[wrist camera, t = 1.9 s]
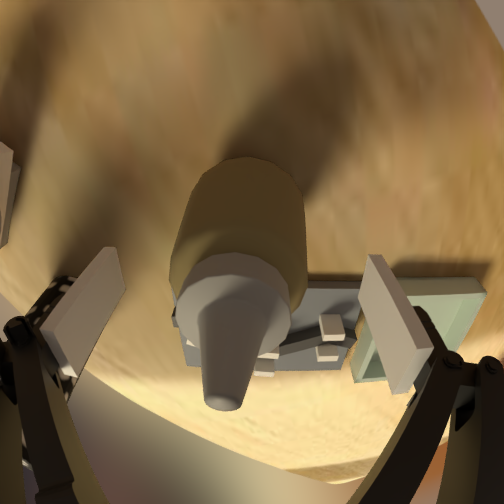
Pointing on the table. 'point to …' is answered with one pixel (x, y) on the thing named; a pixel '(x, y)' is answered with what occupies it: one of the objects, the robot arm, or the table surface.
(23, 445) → the white-spotted black cylinder
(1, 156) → the alarm clock
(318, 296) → the grey peg board
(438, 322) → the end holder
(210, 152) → the table surface
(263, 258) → the squeeze bottle
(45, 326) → the robot arm
